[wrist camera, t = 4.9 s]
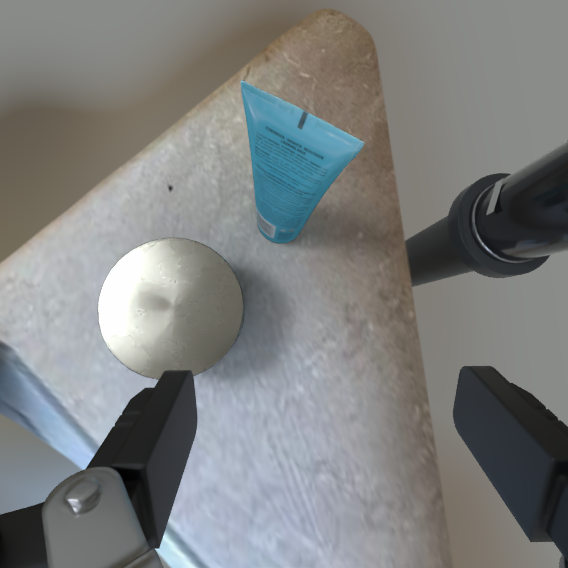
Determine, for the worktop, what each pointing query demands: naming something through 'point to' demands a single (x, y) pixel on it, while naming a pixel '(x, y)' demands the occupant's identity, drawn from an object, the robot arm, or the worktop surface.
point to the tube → (291, 161)
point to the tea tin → (170, 307)
